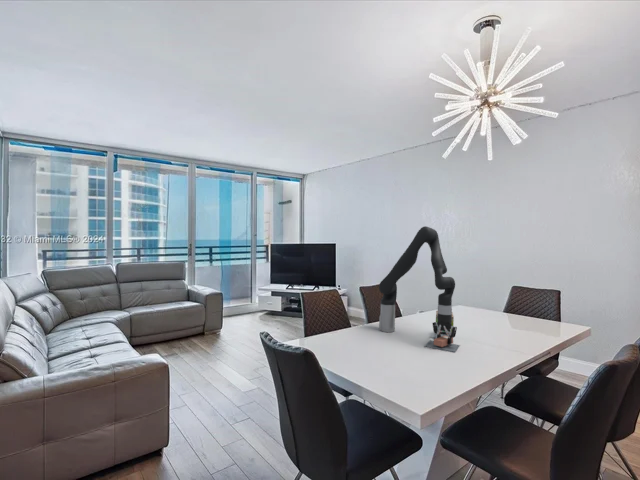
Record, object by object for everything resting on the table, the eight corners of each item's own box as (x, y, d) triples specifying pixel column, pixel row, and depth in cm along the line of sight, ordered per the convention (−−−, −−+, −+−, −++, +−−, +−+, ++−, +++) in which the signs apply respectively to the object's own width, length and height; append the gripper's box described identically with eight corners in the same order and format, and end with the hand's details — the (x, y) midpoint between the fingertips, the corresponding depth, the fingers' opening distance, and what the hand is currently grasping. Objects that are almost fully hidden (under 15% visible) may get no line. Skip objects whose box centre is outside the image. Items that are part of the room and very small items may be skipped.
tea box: (453, 341, 197) (453, 316, 197) (435, 339, 201) (435, 314, 201) (452, 334, 212) (452, 311, 212) (435, 333, 215) (435, 310, 215)
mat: (424, 346, 187) (424, 345, 187) (430, 341, 198) (430, 340, 198) (455, 352, 178) (455, 351, 178) (459, 346, 189) (459, 344, 189)
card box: (442, 341, 182) (453, 337, 189) (433, 339, 186) (444, 335, 193) (441, 347, 182) (452, 343, 189) (433, 344, 186) (444, 340, 193)
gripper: (460, 314, 184) (459, 345, 185) (437, 309, 196) (436, 338, 196) (452, 316, 180) (452, 347, 180) (429, 311, 191) (428, 341, 191)
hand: (444, 342), depth 188 cm, fingers open, 5 cm apart
